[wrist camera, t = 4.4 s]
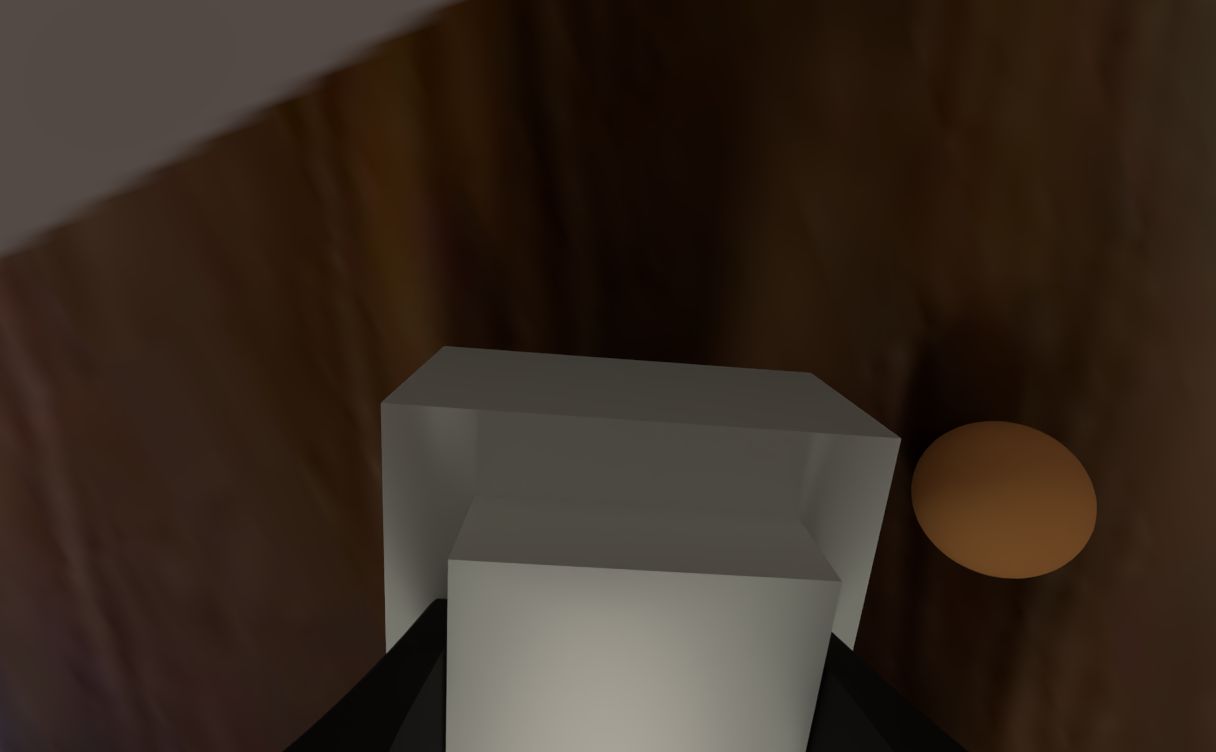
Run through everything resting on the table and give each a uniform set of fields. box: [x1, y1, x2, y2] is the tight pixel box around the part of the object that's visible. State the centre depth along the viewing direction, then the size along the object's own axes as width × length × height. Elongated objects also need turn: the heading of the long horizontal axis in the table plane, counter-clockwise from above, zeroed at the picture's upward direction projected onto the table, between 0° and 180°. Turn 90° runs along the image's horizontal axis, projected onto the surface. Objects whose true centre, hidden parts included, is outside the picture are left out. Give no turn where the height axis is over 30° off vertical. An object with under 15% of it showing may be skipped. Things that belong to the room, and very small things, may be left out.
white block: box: [381, 346, 901, 752], centre depth 12 cm, size 9×9×6 cm
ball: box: [911, 421, 1097, 579], centre depth 19 cm, size 5×5×5 cm
